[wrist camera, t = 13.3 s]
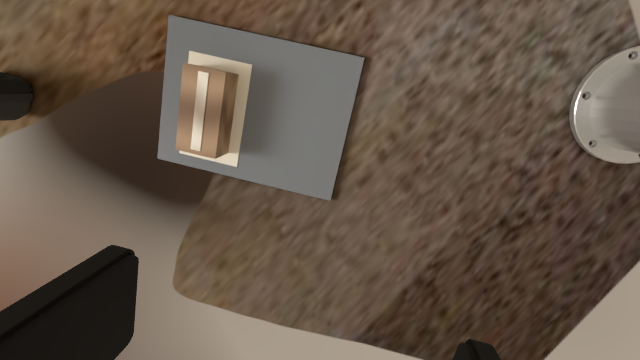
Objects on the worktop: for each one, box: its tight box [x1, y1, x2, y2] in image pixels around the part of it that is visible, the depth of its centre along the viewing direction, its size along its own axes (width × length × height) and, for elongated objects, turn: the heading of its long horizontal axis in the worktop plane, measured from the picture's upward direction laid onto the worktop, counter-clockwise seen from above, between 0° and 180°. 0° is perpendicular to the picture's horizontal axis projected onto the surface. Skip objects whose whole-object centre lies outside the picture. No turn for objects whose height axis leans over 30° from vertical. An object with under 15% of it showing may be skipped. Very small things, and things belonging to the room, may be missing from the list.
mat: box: [158, 15, 365, 201], centre depth 41 cm, size 24×18×1 cm
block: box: [175, 63, 239, 159], centre depth 39 cm, size 10×5×4 cm, turn 168°
